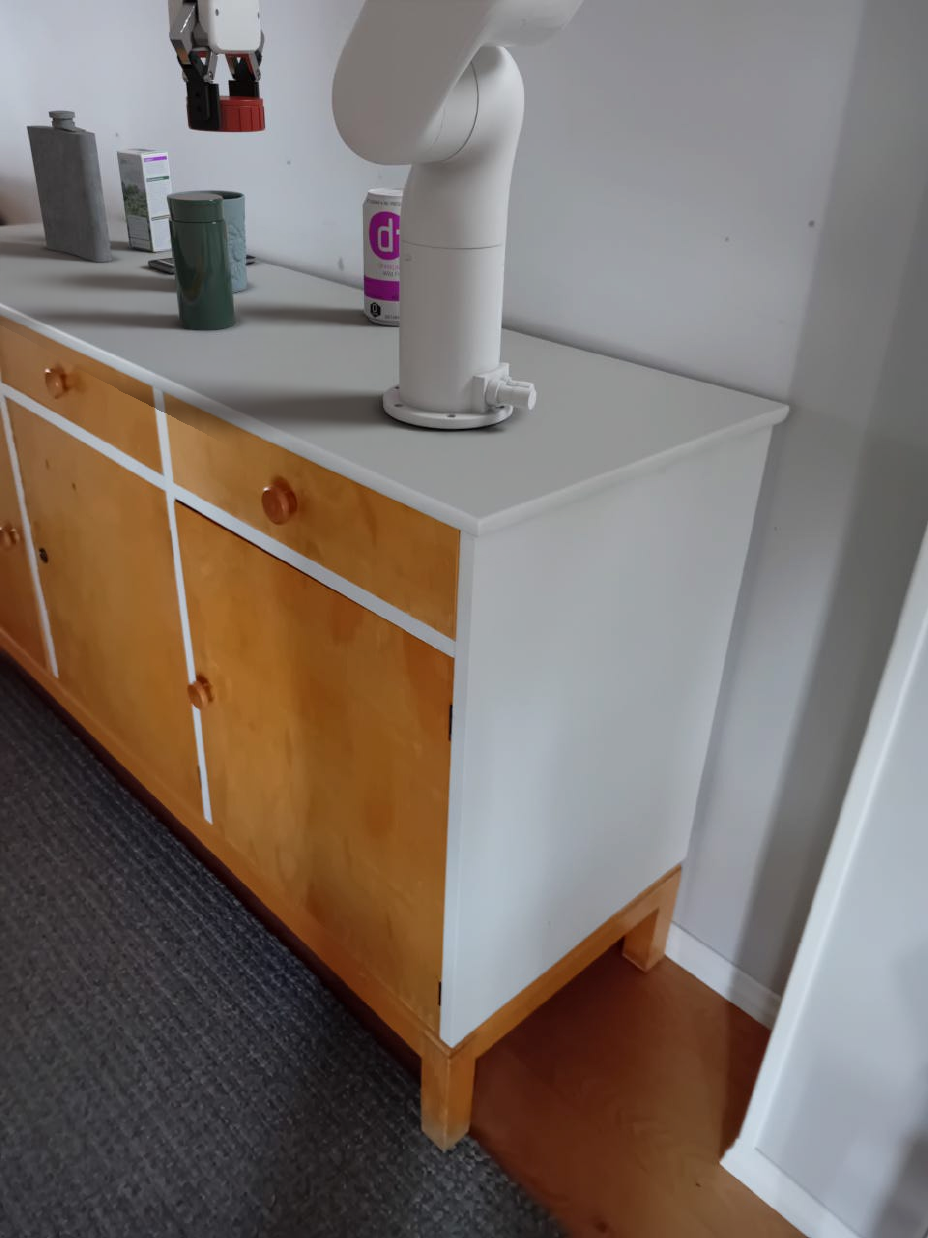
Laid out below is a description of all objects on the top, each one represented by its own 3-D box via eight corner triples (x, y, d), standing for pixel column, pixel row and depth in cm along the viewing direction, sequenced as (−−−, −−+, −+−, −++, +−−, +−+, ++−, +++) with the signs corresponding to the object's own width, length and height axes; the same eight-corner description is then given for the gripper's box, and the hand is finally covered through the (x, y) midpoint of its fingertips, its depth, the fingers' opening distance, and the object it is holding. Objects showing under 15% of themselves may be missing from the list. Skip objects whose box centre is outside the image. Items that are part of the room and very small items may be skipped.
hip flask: (43, 247, 159) (19, 106, 149) (66, 244, 161) (44, 106, 151) (97, 262, 150) (76, 114, 140) (121, 259, 153) (102, 113, 142)
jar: (246, 321, 123) (236, 195, 116) (211, 332, 118) (199, 202, 110) (204, 313, 125) (192, 190, 118) (168, 324, 120) (153, 196, 113)
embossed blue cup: (259, 292, 136) (253, 198, 130) (185, 297, 133) (175, 200, 127) (240, 277, 144) (233, 188, 138) (170, 281, 140) (159, 190, 134)
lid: (177, 129, 97) (173, 97, 96) (203, 124, 104) (201, 93, 102) (252, 133, 96) (249, 100, 95) (274, 127, 103) (272, 97, 101)
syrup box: (180, 247, 162) (170, 150, 155) (152, 252, 158) (140, 152, 151) (155, 243, 165) (144, 147, 158) (127, 248, 160) (114, 149, 153)
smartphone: (258, 257, 153) (170, 268, 144) (258, 262, 153) (171, 273, 144) (231, 250, 158) (145, 260, 148) (231, 254, 158) (146, 265, 149)
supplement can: (420, 329, 122) (422, 198, 115) (356, 323, 124) (353, 193, 116) (435, 314, 129) (438, 189, 122) (374, 309, 131) (373, 185, 123)
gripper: (220, -79, 99) (235, 119, 108) (119, -101, 85) (145, 130, 93) (289, -78, 97) (298, 123, 106) (198, -100, 83) (217, 135, 92)
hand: (226, 125), depth 100 cm, fingers closed on lid, 7 cm apart
